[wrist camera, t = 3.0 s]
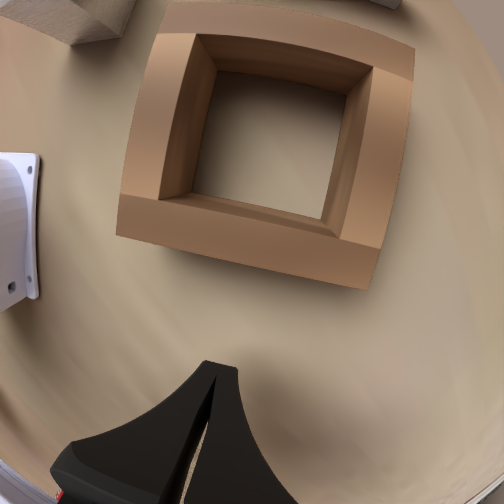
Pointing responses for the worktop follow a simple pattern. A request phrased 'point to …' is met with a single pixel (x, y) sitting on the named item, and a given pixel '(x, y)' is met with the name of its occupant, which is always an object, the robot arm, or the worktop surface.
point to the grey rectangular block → (72, 18)
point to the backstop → (388, 3)
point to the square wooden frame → (281, 67)
